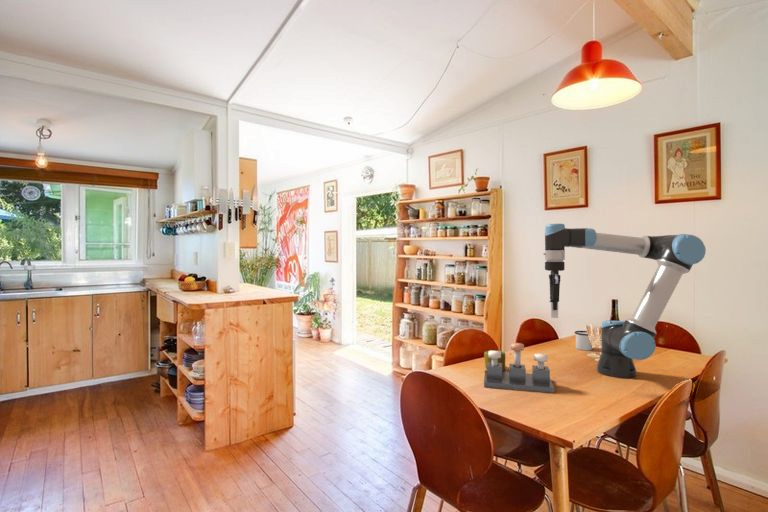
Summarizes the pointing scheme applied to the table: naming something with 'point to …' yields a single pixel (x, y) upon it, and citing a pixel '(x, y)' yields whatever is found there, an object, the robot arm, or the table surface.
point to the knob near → (541, 360)
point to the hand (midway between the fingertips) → (554, 317)
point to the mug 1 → (500, 360)
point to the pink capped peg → (517, 353)
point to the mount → (518, 378)
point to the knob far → (494, 357)
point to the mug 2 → (583, 341)
